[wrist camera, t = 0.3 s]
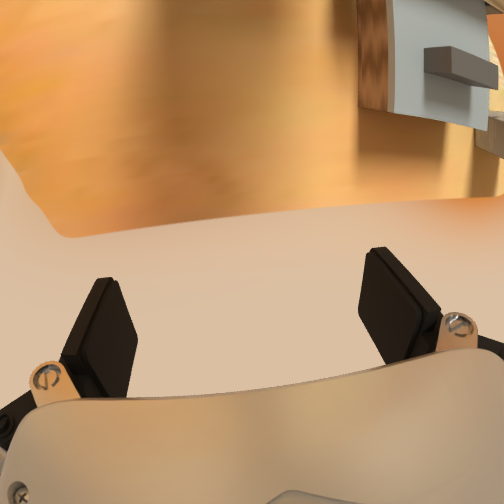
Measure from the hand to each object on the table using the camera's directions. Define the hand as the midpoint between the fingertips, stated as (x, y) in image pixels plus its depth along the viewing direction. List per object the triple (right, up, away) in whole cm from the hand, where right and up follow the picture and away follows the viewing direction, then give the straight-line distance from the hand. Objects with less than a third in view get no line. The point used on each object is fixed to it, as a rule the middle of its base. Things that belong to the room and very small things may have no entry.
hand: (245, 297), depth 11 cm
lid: (+23, +29, +13) cm, 39 cm away
